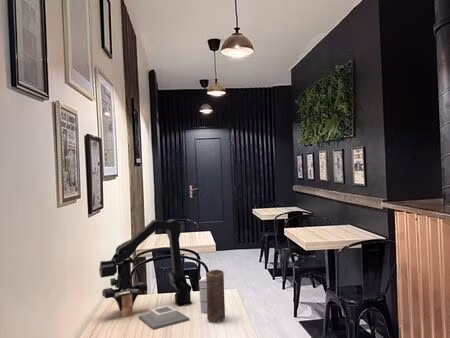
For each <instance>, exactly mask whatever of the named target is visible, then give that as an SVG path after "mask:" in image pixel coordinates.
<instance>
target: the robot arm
mask: <svg viewBox="0 0 450 338" xmlns="http://www.w3.org/2000/svg"><path fill="white" fill-rule="evenodd" d="M157 230H164V231H165V233H166V235H167V237H168V240H169V249H170V250H169V251H170V261H171V268H172V269H171V272H168V278H169V280H168V282H169V283H170V284H171V285H172V287H174V289H175V294H174V304H175V305H178V306H180V307H182V306H186V305H192V304H193V301H192V300H191V299H192V298H191V291H192V288H193V286H191V285H190V284H189V283H188V282H187V277H186V275H185V272H184V270H183V268H182V267H183V266H182V256H181V246H180V236H181V234H182V233H181V231H182V224H181V222H180V221H178V220H176V219H172V218H171V219H168V220H157V219H152V220H151V221H150V222H149V223H148V224H147V225H146V226H145V227H144V228H143V229H141V230H140V231H139V232H138V233H136V234H135V235H134V236H133V237H132V238H130V239H129V240H126V241H124V242H122V243H121V244H119V245H118V246H117V247H116V248H115V253H114V254H113V256H112V257H111V260H101V261H99V262H100V264H99V276H100V278H108V277H113V276H115V275H116V274H117V275H116V277H113V278H110V286H111V287H109V288H104V289H102V293H101V295H102V297H103V298H105V299H110V298H111V299H112V298H113V299H114V301H115V302H116V304H117V306H118V309H120V310H119V312H120V311H121V310H122V305H121V296H120V295H119V294H123V293H128V292H129V293H130V294H132V305H133V306H134V305H135V302H136V299H137V297H138V295H139V294H141V292H146V291H148V284H146V282H144V281H139V282H134V285H132V280H133V276H132V271H131V270H132V267H131V264H134V263H135V264H136V261H135V260H134V259H133V257H132V255H133V254H134V253H135V251H136V249H137V248H138V247H139V246H140V245H141V244H142V243H143V242H144V241H145V240H147V239H148V238H149V237H150V236H151V235H153V233H155V232H157ZM112 287H114V289H113V288H112Z"/></svg>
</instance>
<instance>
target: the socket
mask: <svg viewBox="0 0 450 338" xmlns="http://www.w3.org/2000/svg"><path fill="white" fill-rule="evenodd" d="M149 311H150V313H147V314H146V313H145V314H143V315H139V316H138V318H139V320H140V321H142V322H143V323H144V324H146V326H148V327H149V328H151V330H158V329H162V328H165V327H169V326H173V325H177V324H182V323H185V322H188V321H190V317H188V316H187V315H185V314H184V313H182V312H180V311H179V310H177V309H176V308H173V307H172V306H171V305H169V304H168V305H164V306H161V307H156V308H151V309H150V310H149Z"/></svg>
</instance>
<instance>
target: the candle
mask: <svg viewBox="0 0 450 338" xmlns="http://www.w3.org/2000/svg"><path fill="white" fill-rule="evenodd" d="M224 276H225V273H224V271H223V270H220V269H211V270H209V271H207V273H206V276H205V277H207V313H206V315H207V316H206V317H207V319H206V320H207V321H209V322H210V321H211V322H217V323H218V322H221V321H222V320H223V319H225V318H226V307H225V279H224V278H225V277H224Z"/></svg>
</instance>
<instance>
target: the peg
mask: <svg viewBox="0 0 450 338" xmlns="http://www.w3.org/2000/svg"><path fill="white" fill-rule="evenodd" d="M119 295H120V296H121V305H122V310H121V311H120V309H119V308H118V309H119V316H120V317H121V318H122V319H123V318H127V317H131V316H134V309H133V307H134V305H132V294H130V292H123V293H119Z"/></svg>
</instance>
